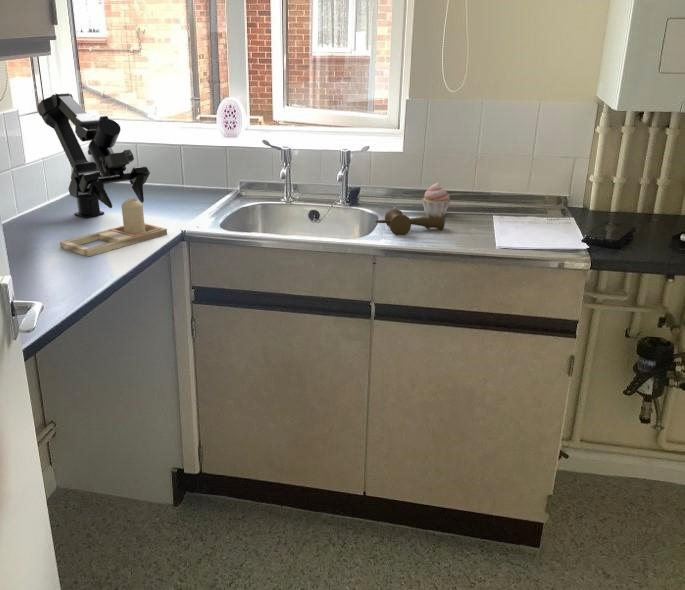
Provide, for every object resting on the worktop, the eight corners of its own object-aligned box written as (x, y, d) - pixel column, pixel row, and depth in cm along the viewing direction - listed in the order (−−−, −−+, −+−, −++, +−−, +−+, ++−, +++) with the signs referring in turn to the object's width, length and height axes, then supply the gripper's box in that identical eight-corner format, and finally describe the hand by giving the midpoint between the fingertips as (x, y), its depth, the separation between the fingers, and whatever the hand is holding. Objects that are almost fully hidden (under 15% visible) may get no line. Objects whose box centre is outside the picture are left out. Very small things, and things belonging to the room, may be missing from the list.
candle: (144, 237, 182) (140, 201, 178) (123, 238, 181) (119, 202, 178) (146, 231, 187) (143, 196, 184) (126, 232, 186) (122, 197, 183)
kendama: (447, 235, 188) (378, 236, 185) (438, 227, 197) (371, 227, 194) (449, 215, 186) (379, 215, 183) (439, 207, 195) (372, 207, 192)
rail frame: (60, 247, 173) (59, 241, 172) (139, 226, 192) (138, 221, 191) (88, 256, 167) (87, 250, 166) (167, 234, 185) (166, 228, 185)
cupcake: (456, 217, 205) (458, 184, 201) (428, 219, 202) (430, 187, 198) (441, 209, 213) (443, 178, 209) (415, 212, 210) (416, 180, 206)
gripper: (78, 143, 174) (101, 193, 171) (143, 137, 186) (166, 183, 183) (69, 168, 183) (92, 216, 180) (133, 160, 195) (155, 205, 191)
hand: (127, 204), depth 183 cm, fingers open, 9 cm apart
